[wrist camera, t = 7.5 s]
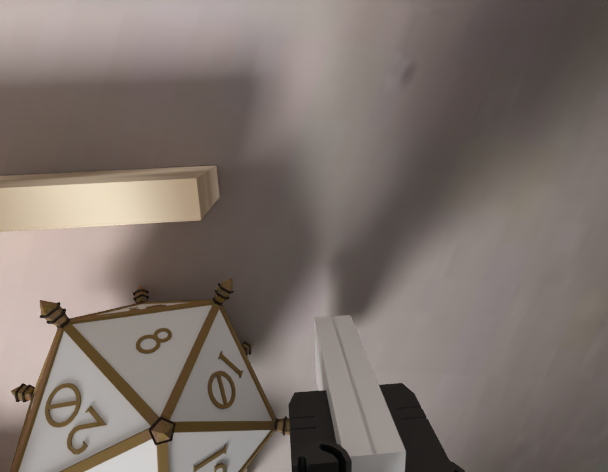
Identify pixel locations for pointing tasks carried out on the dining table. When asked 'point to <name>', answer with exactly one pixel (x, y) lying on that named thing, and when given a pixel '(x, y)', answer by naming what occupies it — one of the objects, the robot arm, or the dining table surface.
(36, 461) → the game die
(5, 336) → the dining table surface
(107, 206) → the corral
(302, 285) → the dining table surface
